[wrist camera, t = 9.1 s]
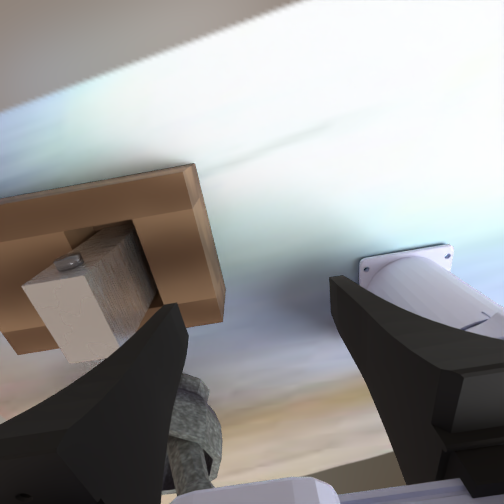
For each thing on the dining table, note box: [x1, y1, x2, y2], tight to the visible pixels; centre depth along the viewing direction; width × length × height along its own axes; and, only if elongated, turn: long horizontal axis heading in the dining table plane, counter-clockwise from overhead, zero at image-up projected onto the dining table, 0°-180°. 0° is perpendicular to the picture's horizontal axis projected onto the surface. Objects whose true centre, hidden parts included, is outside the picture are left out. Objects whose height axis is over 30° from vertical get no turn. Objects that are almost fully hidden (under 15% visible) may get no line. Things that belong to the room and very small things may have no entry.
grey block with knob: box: [21, 223, 158, 364], centre depth 17 cm, size 6×3×8 cm, turn 9°
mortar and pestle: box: [161, 374, 222, 496], centre depth 24 cm, size 11×9×12 cm
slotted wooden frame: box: [0, 164, 226, 355], centre depth 20 cm, size 11×16×4 cm
